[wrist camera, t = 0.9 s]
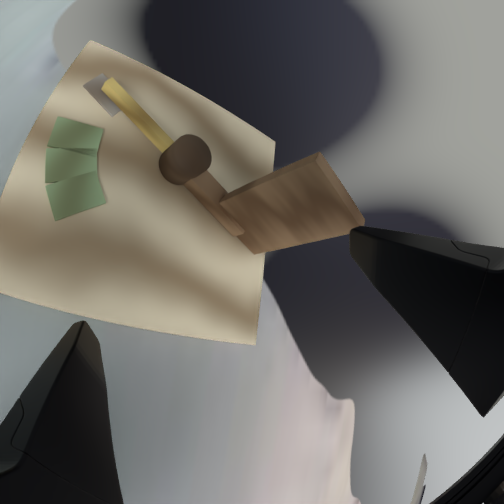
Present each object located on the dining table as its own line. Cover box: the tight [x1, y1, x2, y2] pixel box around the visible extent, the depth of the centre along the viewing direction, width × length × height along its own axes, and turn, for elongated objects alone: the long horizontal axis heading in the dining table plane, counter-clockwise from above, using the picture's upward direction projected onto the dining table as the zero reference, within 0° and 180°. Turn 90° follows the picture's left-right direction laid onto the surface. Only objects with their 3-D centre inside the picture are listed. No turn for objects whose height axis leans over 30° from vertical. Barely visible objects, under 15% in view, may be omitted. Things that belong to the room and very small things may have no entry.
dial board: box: [0, 40, 275, 345], centre depth 21 cm, size 20×21×1 cm
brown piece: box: [101, 77, 365, 255], centre depth 18 cm, size 18×3×10 cm, turn 57°
